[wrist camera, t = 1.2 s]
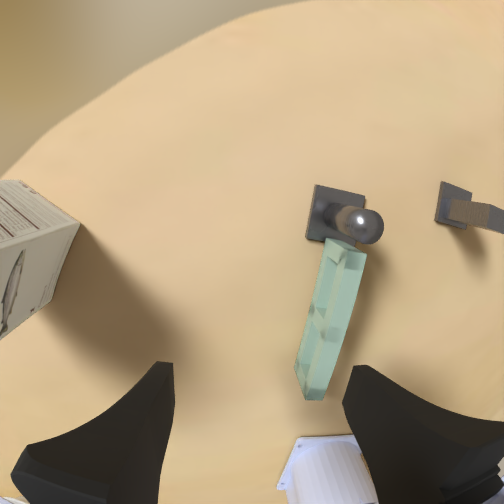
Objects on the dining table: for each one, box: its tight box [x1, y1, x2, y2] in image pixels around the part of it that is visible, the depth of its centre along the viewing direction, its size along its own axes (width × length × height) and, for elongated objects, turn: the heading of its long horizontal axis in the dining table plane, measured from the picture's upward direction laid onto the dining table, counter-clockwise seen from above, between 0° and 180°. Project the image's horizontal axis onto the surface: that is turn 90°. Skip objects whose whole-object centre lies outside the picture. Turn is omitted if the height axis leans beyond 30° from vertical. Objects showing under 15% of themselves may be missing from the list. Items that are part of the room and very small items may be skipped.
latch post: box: [435, 181, 504, 234], centre depth 18 cm, size 3×4×6 cm
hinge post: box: [305, 185, 384, 247], centre depth 18 cm, size 4×4×6 cm
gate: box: [294, 238, 367, 400], centre depth 19 cm, size 10×1×4 cm, turn 170°
